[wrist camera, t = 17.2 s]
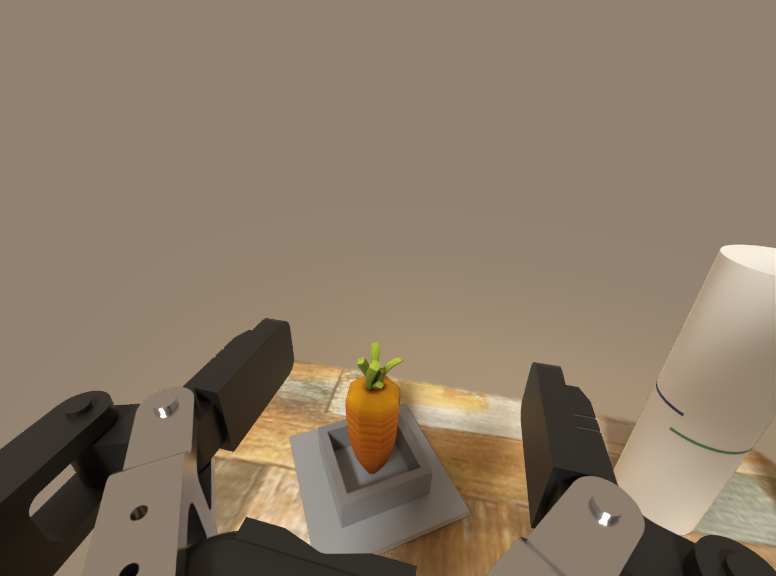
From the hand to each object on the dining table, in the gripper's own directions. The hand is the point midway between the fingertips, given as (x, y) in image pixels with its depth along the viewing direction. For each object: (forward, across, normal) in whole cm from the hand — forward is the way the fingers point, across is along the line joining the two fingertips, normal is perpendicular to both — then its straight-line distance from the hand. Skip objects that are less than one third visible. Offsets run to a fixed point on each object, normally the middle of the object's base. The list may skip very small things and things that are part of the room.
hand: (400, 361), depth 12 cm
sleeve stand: (+13, +5, +26) cm, 30 cm away
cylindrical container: (+18, -22, +27) cm, 40 cm away
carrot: (+13, +5, +26) cm, 29 cm away
